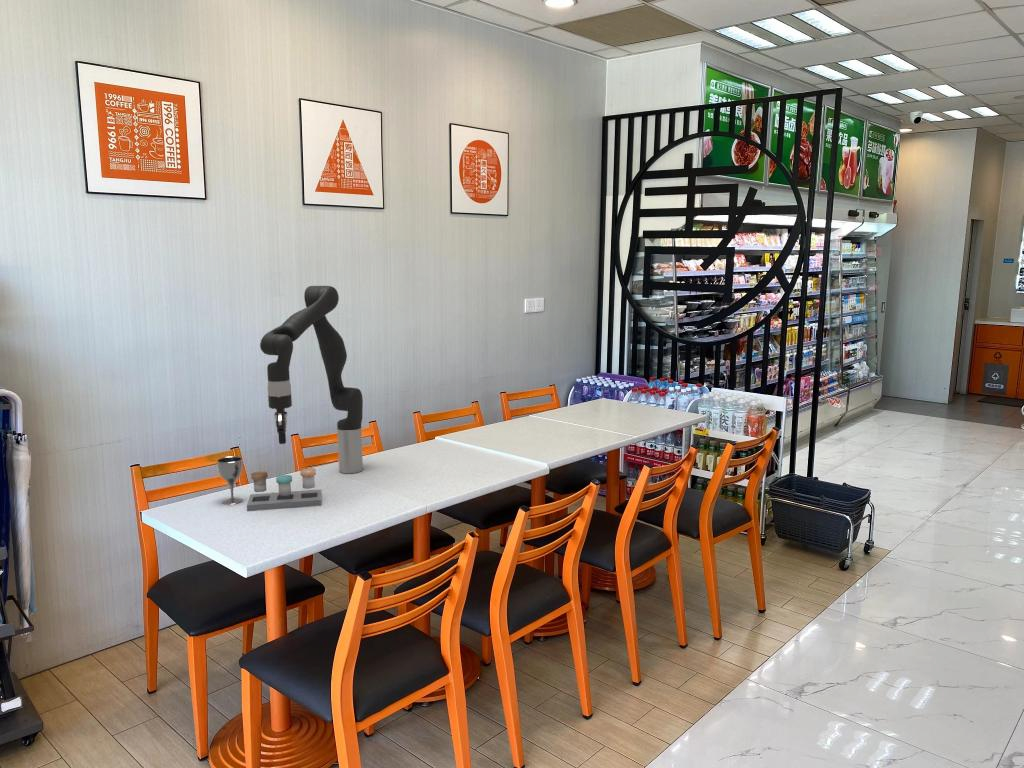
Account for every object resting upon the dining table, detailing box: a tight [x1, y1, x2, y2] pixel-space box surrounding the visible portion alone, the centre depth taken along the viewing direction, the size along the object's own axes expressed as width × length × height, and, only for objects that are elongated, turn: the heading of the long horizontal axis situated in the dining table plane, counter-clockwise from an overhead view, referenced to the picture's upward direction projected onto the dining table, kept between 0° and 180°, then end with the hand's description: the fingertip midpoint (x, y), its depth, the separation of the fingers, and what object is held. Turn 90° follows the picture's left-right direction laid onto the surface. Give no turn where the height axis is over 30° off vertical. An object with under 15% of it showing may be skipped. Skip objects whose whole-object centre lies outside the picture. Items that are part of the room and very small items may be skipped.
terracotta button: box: [299, 467, 317, 490], centre depth 265 cm, size 5×5×6 cm
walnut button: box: [250, 470, 268, 493], centre depth 262 cm, size 5×5×6 cm
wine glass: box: [217, 455, 244, 506], centre depth 265 cm, size 8×8×15 cm
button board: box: [246, 489, 322, 512], centre depth 265 cm, size 12×24×2 cm, turn 103°
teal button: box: [275, 474, 293, 496], centre depth 264 cm, size 5×5×6 cm
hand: (282, 443), depth 261 cm, fingers closed
